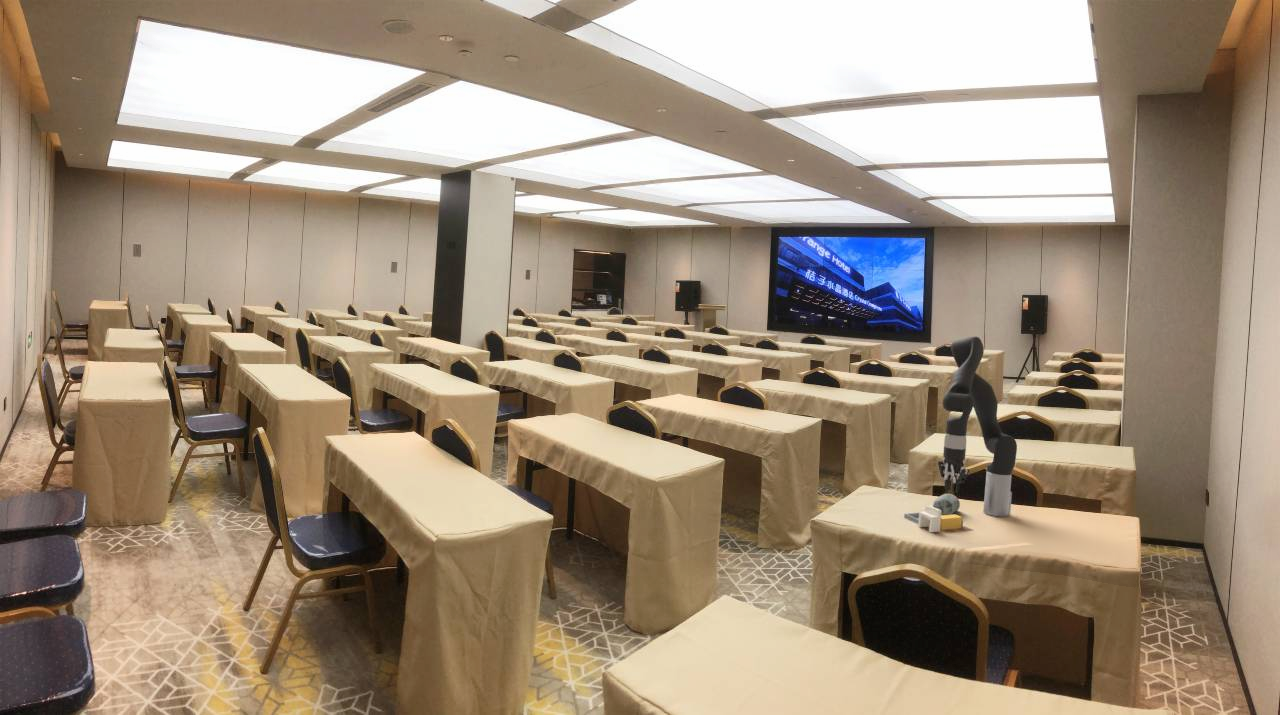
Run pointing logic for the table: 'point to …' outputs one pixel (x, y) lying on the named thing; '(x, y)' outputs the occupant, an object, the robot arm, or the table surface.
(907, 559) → the table surface
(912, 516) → the tray
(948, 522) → the yellow rectangular block
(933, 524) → the white stepped block
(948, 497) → the streaked grey-blue ovoid
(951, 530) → the clamp board
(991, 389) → the robot arm
